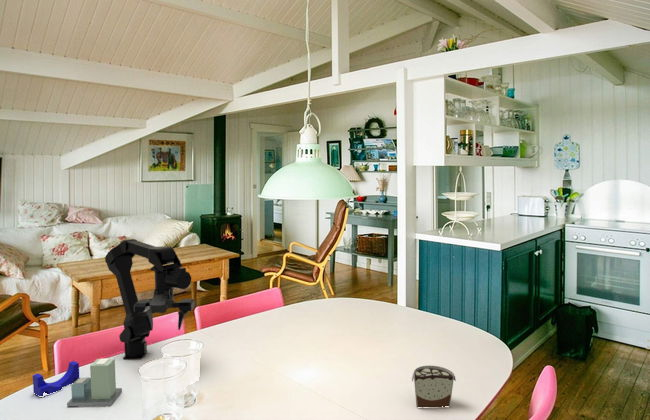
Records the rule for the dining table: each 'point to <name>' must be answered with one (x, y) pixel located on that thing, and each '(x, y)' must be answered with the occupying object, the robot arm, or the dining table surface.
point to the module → (103, 378)
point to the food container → (433, 386)
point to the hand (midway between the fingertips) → (165, 330)
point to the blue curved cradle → (48, 388)
